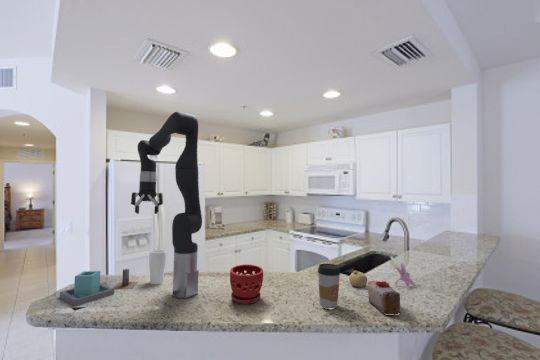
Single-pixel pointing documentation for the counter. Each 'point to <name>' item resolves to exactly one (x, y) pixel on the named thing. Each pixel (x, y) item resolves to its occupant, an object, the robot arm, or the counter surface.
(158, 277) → the drinking glass
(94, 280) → the teal sleeve
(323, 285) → the coffee cup
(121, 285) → the square wooden base
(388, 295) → the food item
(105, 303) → the counter surface
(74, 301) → the charcoal tray
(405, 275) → the lily
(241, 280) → the plant pot
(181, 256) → the robot arm
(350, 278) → the onion
